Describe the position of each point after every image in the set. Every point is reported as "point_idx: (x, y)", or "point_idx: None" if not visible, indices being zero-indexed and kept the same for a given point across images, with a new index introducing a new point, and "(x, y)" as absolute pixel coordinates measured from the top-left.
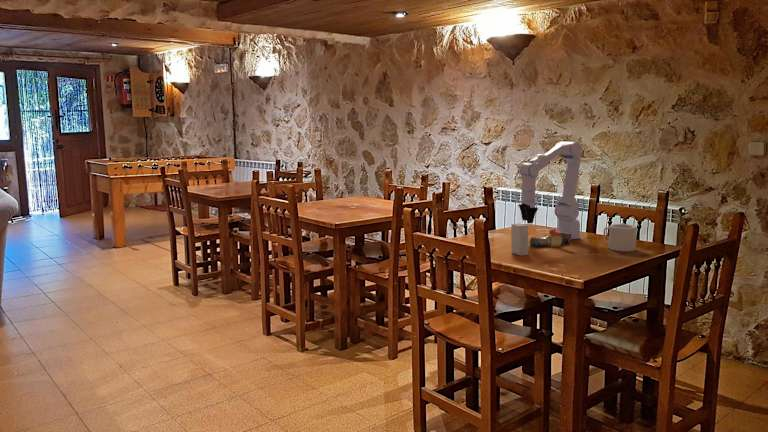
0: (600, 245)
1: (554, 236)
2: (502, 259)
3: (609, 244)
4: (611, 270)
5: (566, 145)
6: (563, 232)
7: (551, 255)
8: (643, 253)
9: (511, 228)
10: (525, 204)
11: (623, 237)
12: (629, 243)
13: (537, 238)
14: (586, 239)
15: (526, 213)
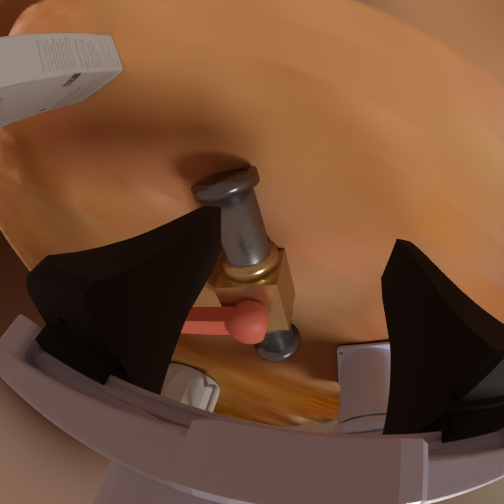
0: (237, 375)
1: (221, 301)
2: (44, 15)
3: (182, 375)
4: (17, 252)
5: None
6: None
7: (83, 187)
8: None
9: (12, 36)
10: (432, 426)
11: None
12: None
13: (221, 215)
14: (326, 388)
15: (132, 245)
